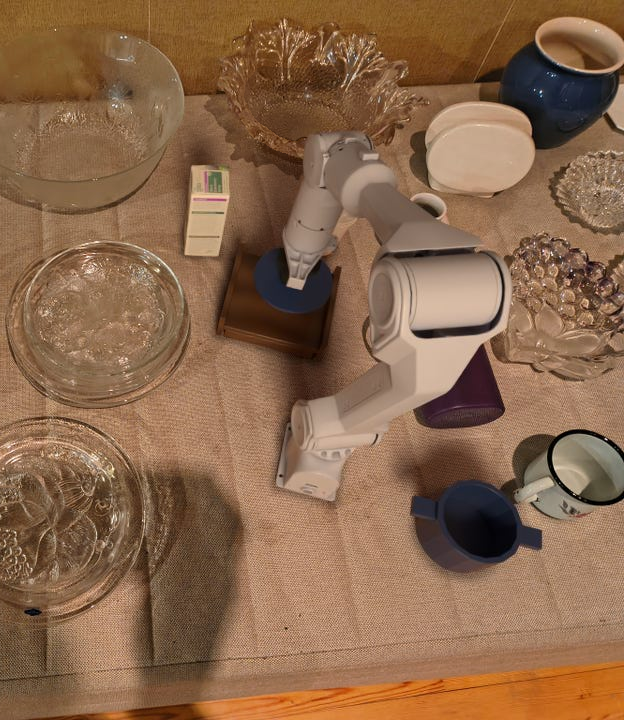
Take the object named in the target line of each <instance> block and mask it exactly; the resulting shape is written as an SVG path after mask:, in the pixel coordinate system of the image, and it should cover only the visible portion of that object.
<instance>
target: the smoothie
mask: <svg viewBox="0 0 624 720" xmlns="http://www.w3.org/2000/svg"><path fill="white" fill-rule="evenodd" d="M358 219H359V218H357V217H354V216H352V215H350V214H348V213H347V212H346V211H345V209H343V211H342V213H341V216H340V218H339V220H338V222H337V224H336V226H335V229H334V231H333V233H332V235H335V236H337V237H338V243H337V245H338V244H339V243H340V241H341V239H342V238H343V237H344V235H345V234H346V232H347V231H348V230H349V228H350V227H351V226H353V225H354V224H355V223H356V222H357V221H358ZM332 252H333V251H331V250H326V251H325V252H324V254H323V255H322V256H321V257H324V256H325V257H326V256H328V255H330V254H331V253H332Z"/></svg>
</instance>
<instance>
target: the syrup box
mask: <svg viewBox="0 0 624 720" xmlns="http://www.w3.org/2000/svg"><path fill="white" fill-rule="evenodd" d="M230 185H231V184H230V167H229V166H225V165H215V164H213V165H211V164H202V165H201V164H200V165H193V164H192V165H191V166H190V174H189V181H188V189H187V199H186V206H185V207H186V208H185V216H184V226H183V255H185V256H193V257H195V256H196V257H219V255H220V251H221V246H222V241H223V236H224V231H225V226H226V221H227V215H228V210H229V205H230V198H231V186H230Z"/></svg>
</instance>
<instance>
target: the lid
mask: <svg viewBox="0 0 624 720" xmlns="http://www.w3.org/2000/svg"><path fill="white" fill-rule="evenodd" d="M280 248H284V246H280V247H279V246H278V247H275V248H273V249H271V250H269V251H267V252H266V253H264V254H263V255H261V256H262V257H261V258H260V259H259V261H258V262H257V264H256V267H255V270H254V284H255V287H256V289H257V291H258V293H259V295H260V296H261V297H262V299H263V300H264V301H266V302H267V303H268V304H269V305H271V306H272V307H274V308H276V309H278V310H280V311H283V312H287V313H292V314H303V313H309V312H312V311H314V310H316V309H318V308H320V307H321V306H323V305H324V304H325V303H326V301H327V300H328V299H329V297H330V295H331V292H332V289H333V279H332V275H331V273H332V272H331V269H330V268H329V266H328V265H327V263H326V262H325V261H324V260H323V259H322V257H321V258H320V259H319V260H322V261H321V266H320V270H319V271H318V273H317V274H316V275H311V276H308V277H306V281H305V284H304V286H303V288H302V290H299V289H295V288H291V287H287V286H286V285H282V284H281V268H280V267H279V266H278V263H277V258H278V254H279V250H280Z"/></svg>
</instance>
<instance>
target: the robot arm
mask: <svg viewBox="0 0 624 720" xmlns="http://www.w3.org/2000/svg"><path fill="white" fill-rule="evenodd" d="M379 156H380V153H379V152H377V151H376V150H375V148H374V143H373V140H372V138H371V137H370V136H369V134H365V132H364V131H362V130H360V129H357V130H355V129H354V130H338V131H319V132H316V133H310V134H308V136H307V137H306V139H305V142H304V146H303V152H302V170H303V178H302V180H301V183H300V185H299V189H298V192H297V195H296V196H295V197H296V198H295V200H294V203H293V206H292V209H291V213H290V215H289V218H288V220H287V221H286V222H285V224H284V227H283V229H282V233H281V239H282V244H283V247H284V248H280V250H279V254H278V258H277V263H278V266H279V267H280V268H281V284H282V285H286V286H287V287H291V288H295V289H299V290H302V288H303V286H304V284H305V281H306V277H308V276H311V275H316V274H317V273H318V271H319V270H320V266H321V261H322V260H323V259H322V257H323V256H322V255H323V254H324V252H325V251H326V250H331V251H332V252H334V251H336V249H337V247H338V244H339V242H338V237H337V236H335V235H332V233H333V231H334V229H335V226H336V224H337V222H338V220H339V218H340V216H341V213H342V211H343V209H345V211H346V212H347V213H348V214H350V215H352V216H354V217H357V218H358V219H366V221H367V223H368V224H369V225H370V227H371V228H372V230H373V231H374V233H375V234H376V236H377V237H378V239H379V240H380V242H381V245H380V246H379V248H378V250H377V252H376V253H375V255H374V256H373V260H372V263H371V266H370V272H369V277H368V281H367V282H368V284H367V292H366V293H367V294H366V295H367V297H366V299H367V306H368V320H369V321H368V322H369V339H370V344H371V354H372V356H373V357H374V358H375V359H378V360H379V362H377V363H376V364H375V365H374V366H372V367H370V368H369V369H368V370H367V371H365V372H364V373H362V374H361V375H359V376H358V377H357V378H356V379H354V380H353V381H351V382H350V383H349V384H347V385H346V386H344V387H343V388H342V389H341V390H340V389H339V391H337V392H336V393H335V394H331V395H326V396H322V397H317V398H312V399H304V398H303V399H298V400H297V401H295V403H294V405H293V406H292V408H291V413H290V422H289V421H288V422H287V424H286V427H285V431H284V436H283V442H282V447H281V452H280V457H279V463H278V467H277V468H278V469H277V472H276V477H275V482H274V483H275V486H276V487H278V488H282V489H285V490H288V491H292V492H295V493H299V494H302V495H307V496H310V497H314V498H317V499H319V500H325V501H327V502H334V501H335V499H336V495H337V490H338V489H339V487H340V485H341V482H342V474H343V469H344V466H345V463H346V462H347V460H348V459H349V457H350V455H351V454H352V453H354V451H355V450H357V449H360V448H362V447H364V446H370V447H375V446H378V445H379V444H380V443H381V441H382V439H383V438H384V436H385V434H386V433H389V431H390V430H391V428H390V425H391V424H390V423H391V421H392V420H394V419H396V418H398V417H400V416H403V415H404V414H406V413H408V412H410V411H412V410H415V409H417V408H418V407H421V406H423V405H425V404H427V403H429V402H431V401H433V400H435V399H437V398H439V397H441V396H443V395H445V394H447V393H449V391H450V390H451V389H452V388H453V387H454V386H455V384H456V383H457V381H458V379H459V378H460V376H461V375H462V374H463V372H464V370H465V369H466V368H467V366H468V365H469V363H470V361H471V360H472V358H473V357H474V356H475V354H476V353H477V351H478V349H479V347H481V346H482V345H483V344H484V343H485V342H487V341H489V340H491V339H492V338H493V337H495V336H497V335H499V334H500V333H502V332H503V331H505V330H506V329H507V328H508V322H509V316H510V312H511V305H512V300H513V294H514V285H513V284H514V282H513V278H512V274H511V271H510V269H509V267H508V265H507V263H506V261H505V260H504V258H503V257H502V256H501V255H500V254H499V253H498V252H496V251H493V250H489V249H488V250H487V249H486V250H483V249H482V250H479V251H475V249H477V248H478V247H485V246H486V245H485V243H484V241H482V239H481V238H480V237H479V236H477V235H476V234H473V233H470V232H468V231H465V230H463V229H460V228H458V227H455V226H453V225H451V224H447V223H446V222H443V221H441V220H439V219H438V218H436V217H435V216H433V215H432V214H431V213H430V212H428V211H426V210H425V209H424V208H423V207H421V206H420V205H418V204H417V203H416V202H415V201H413V200H411V199H410V198H409V197H407V196H406V195H405V194H403V193H402V192H400V191H399V190H398V185H399V183H398V177H397V174H396V172H395V171H394V170H393V169H392V167H390V166H389V165H388V164H387V163H385V161H384V160H382V158H380V157H379ZM337 243H338V244H337ZM320 258H321V259H322V260H319V259H320ZM289 429H290V430H289ZM280 475H281V477H280Z"/></svg>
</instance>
